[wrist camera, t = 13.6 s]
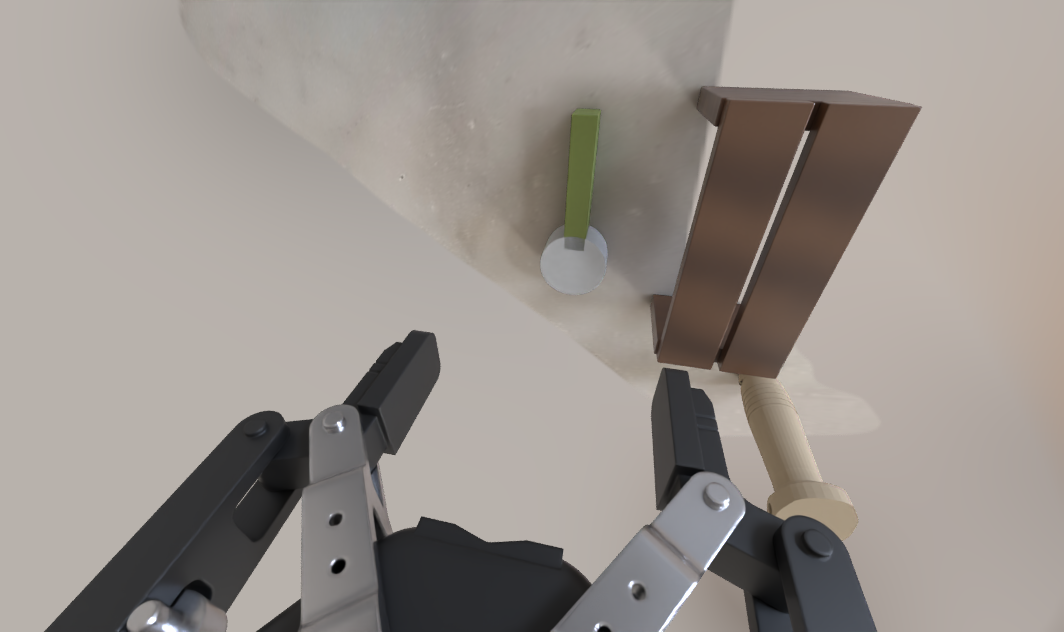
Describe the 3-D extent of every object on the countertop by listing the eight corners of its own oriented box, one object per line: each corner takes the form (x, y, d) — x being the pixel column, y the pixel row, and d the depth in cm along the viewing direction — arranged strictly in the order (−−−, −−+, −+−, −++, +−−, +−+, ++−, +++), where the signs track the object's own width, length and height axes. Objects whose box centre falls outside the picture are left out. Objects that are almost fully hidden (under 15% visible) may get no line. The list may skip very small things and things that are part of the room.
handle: (724, 395, 40) (764, 542, 29) (733, 349, 37) (783, 494, 25) (775, 398, 39) (840, 552, 27) (790, 350, 36) (870, 503, 24)
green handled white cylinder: (551, 107, 28) (543, 113, 26) (627, 110, 27) (627, 116, 25) (544, 275, 37) (539, 291, 34) (603, 282, 36) (601, 299, 33)
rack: (701, 86, 26) (725, 99, 19) (849, 90, 24) (928, 106, 18) (650, 306, 36) (654, 362, 30) (751, 318, 35) (778, 380, 28)
